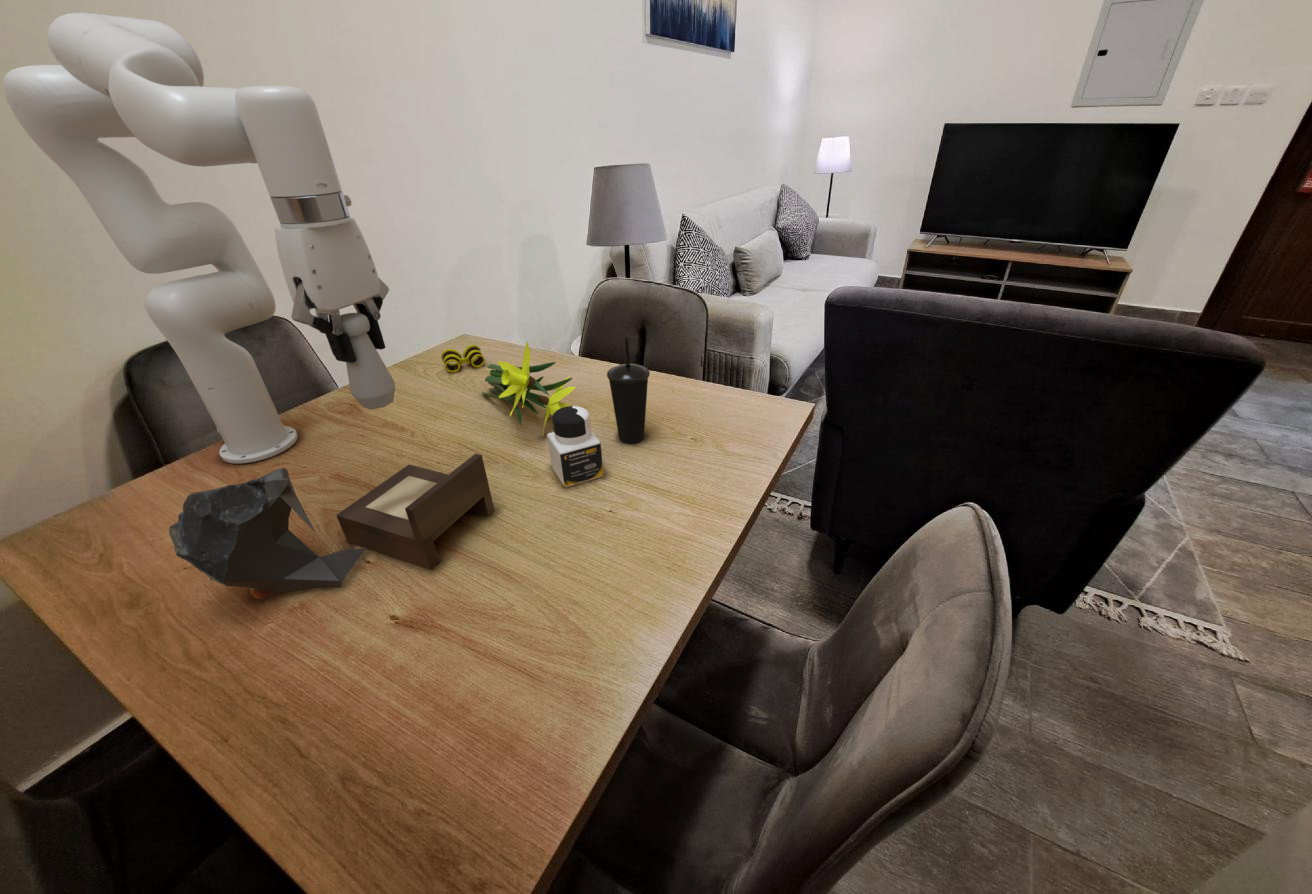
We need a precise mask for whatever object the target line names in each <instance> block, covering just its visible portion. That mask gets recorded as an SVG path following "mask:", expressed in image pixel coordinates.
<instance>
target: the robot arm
mask: <svg viewBox="0 0 1312 894" xmlns="http://www.w3.org/2000/svg"><path fill="white" fill-rule="evenodd" d="M46 35H47V37H46V38H47V43H48V46H49V49H50V51H51V53H52V55H53V57H54V58H55V60H56V61H57V62H58V64H31V65H23V66H19V67H16V68H14V69H11V70H9V71H8V72H7V73H6V74H5V75H4V77H3V81H2V87H3V94H4V96H5V99H6V102H7V103H8V105H9V107H10V109H11V111H12V113H13V114H14V116H15V118H16V120H17V121H18V123H19V124H20V126H21V127H22V129H23V130H24V131H25V133H26V134H27V135H28V137H29V138H30V139H31V140H32V141H33V142H34V143H35V145H37V147H38V148H39V149H40V150H42V152H43V153H44V154H45V155H46V156H47V157H48V158H50V160H52V162H54V164H55V165H56V166H57V167H59V168H60V169H61V171H63V172H64V173H65V175H66V176H68V177H69V179H70V180H71V181H72V182H73V183H74V184H75V186H76V187H77V188H78V190H79V191H80V193H81V194H82V196H83V197H84V198H85V200H86V202H87V203H88V205H89V207H90V208H91V210H92V211H93V213H94V214H95V216H96V218H97V219H98V220H99V222H100V223H101V225H102V226H103V228H104V230H105V231H106V232H107V234H108V235H109V237H110V238H111V240H112V242H113V243H114V245H115V246H116V248H117V249H118V251H119V252H120V253H121V255H122V256H123V257H124V259H125V260H126V261H127V262H128V263H129V264H130V265H131V267H133V268H134V269H136V270H137V271H139V272H141V273H144V274H151V275H152V274H153V275H154V274H165V273H171V272H177V271H178V272H179V271H183V270H187V269H193V268H197V267H198V268H199V267H203V266H208V265H212V266H213V267H215V268H216V270H217V271H214V272H210V273H204V274H198V275H194V276H189V277H185V278H180V279H175V280H170V281H168V282H164V283H162V284H159V285H157V286H155V287H153V288H151V290H149V291H148V292H147V293H146V295H145V297H144V301H143V302H144V308H145V312H146V314H147V315H148V317H149V319H150V320H151V321H152V323H153V324H154V326H155V327H156V328H157V329H158V331H159V332H160V333H161V334H162V336H163V337H164V338H165V339H166V341H167V342H168V343H169V345H170V346H171V348H172V349H173V351H174V352H175V354H176V355H177V357H178V359H179V360H180V362H181V364H182V366H183V367H184V369H185V371H186V373H187V375H188V376H189V379H190V381H191V382H192V384H193V386H194V388H195V390H196V392H197V393H198V395H199V397H200V399H201V401H202V402H203V405H204V407H205V408H206V411H207V412H208V414H209V416H210V418H211V420H212V421H213V423H214V425H215V427H216V431H217V433H218V434H219V435H220V437H221V439H222V440H223V442H224V444H222V446H221V447H220V449H218V450H219V451H218V455H219V457H220V459H221V460H222V461H223V462H226V463H228V464H235V465H236V464H237V465H238V464H240V465H242V464H249V463H255V462H260V461H264V460H266V459H270V458H273V457H274V456H277V455H279V454H281V453H283V452H286V451H287V450H288V449H290V448H291V447H292V446H294V445H295V443H297V441H298V438H299V434H298V432H297V430H296V429H295V428H294V427H291V426H289V425H288V426H287V425H284V423H283V421H282V419H281V417H280V414H279V413H278V410H277V408H276V407H275V404H274V402H273V400H272V397H271V395H270V393H269V391H268V389H267V386H266V384H265V382H264V379H263V377H262V376H261V373H260V371H259V368H258V367H257V365H256V362H255V360H254V358H253V356H252V355H251V353H250V352H249V351H248V350H247V349H246V348H245V347H243V346H242V345H240V344H238V343H236V342H234V341H232V340H230V339H228V338H227V337H226V336H225V335H226V334H228V333H230V332H234V331H236V330H238V329H243V328H246V327H248V326H252V325H255V324H258V323H262V322H265V321H267V320H269V319H270V318H272V317H273V316H274V315H275V313H276V309H277V304H276V299H275V296H274V293H273V292H272V290H271V288H270V286H269V284H268V282H267V280H266V278H265V276H264V275H263V273H262V271H261V269H260V267H259V265H258V263H257V262H256V260H255V258H254V257H253V254H252V253H251V251H250V249H249V247H248V246H247V243H246V242H245V240H244V238H243V236H242V234H241V233H240V232H239V230H238V228H237V226H236V224H234V222H233V221H232V220H231V218H230V217H228V215H227V214H226V213H224V211H223V210H222V209H220V208H218V207H217V206H215V205H213V204H210V203H207V202H203V201H202V202H201V201H200V202H199V201H192V202H183V203H174V204H169V203H167V202H166V201H165V200H164V199H163V197H161V195H160V193H159V192H158V190H157V188H156V186H155V185H154V183H153V182H152V180H151V178H150V176H149V175H148V173H146V171H145V170H144V169H142V168H141V167H140V165H138V164H136V163H135V162H134V161H133V160H131V159H130V158H128V157H127V156H126V155H124V154H122V153H121V152H120V151H118V150H116V149H114V148H113V147H110V146H109V145H107V144H106V143H104V142H102V141H100V140H99V139H109V138H110V139H111V138H136V139H137V140H138V141H139V143H141V144H143V145H144V146H145V147H147V148H149V149H151V150H153V151H154V152H156V153H158V154H160V155H162V156H164V157H165V158H167V159H169V160H172V161H174V162H177V163H180V164H183V165H186V166H193V167H203V168H204V167H219V166H228V165H240V164H241V165H242V164H257V166H258V169H259V171H260V174H261V176H262V179H263V182H264V184H265V187H266V190H267V192H268V195H269V196H270V197H269V199H270V201H271V203H272V206H273V209H274V211H275V214H276V217H277V220H278V222H279V225H280V226H278V227H275V228H274V235H275V242H276V250H277V253H278V258H279V261H280V266H281V269H282V273H283V276H284V280H285V282H286V286H287V289H288V291H289V295H290V297H291V299H292V303H293V307H292V310H291V316H290V317H291V319H292V321H294V322H296V323H300V324H303V325H307V326H309V327H311V328H313V329H315V330H317V331H318V332H319V333H320V334H325V337H326V339H327V342H328V345H329V347H330V350H331V353H332V355H333V356H334V358H335V360H336V361H338V362H344V363H346V362H348V363H353V362H356V360H357V359H356V356H355V353H354V350H353V347H352V344H351V341H350V338H349V336H348V334H347V333H342V325H341V319H340V315H341V313H340V310H341V309H345V308H348V307H350V306H353V308H354V310H355V312H356V313H361V314H363V315H365V316H366V317H367V318H368V320H369V323H370V330H369V331H368V332H366V333H367V335H368V336H369V338H370V340H371V342H372V343H373V345H374V347H375V348H376V350H379V351H380V350H381V351H382V350H384V349H386V344H385V341H384V337H383V333H382V329H381V327H380V324H379V320H381V316H382V315H381V313H380V311H381V309H382V306H383V304H384V300H385V299H386V297H387V295H388V293H389V291H390V288H389V286H388V285H387V284H386V283H385V282H384V281H383V280H382V279H380V277H379V276H378V270H377V268H376V265H375V262H374V260H373V257H372V254H371V252H370V249H369V247H368V244H367V242H366V239H365V237H364V235H363V233H362V230H360V227H359V225H358V223H357V221H356V220H355V218H353V217H351V215H350V211H349V209H348V207H351V206H352V200H351V198H350V196H349V195H347V194H344V192H343V189H342V186H341V183H340V179H339V176H338V172H337V169H336V166H335V162H334V160H333V156H332V153H331V149H330V146H329V143H328V140H327V137H326V134H325V130H324V127H323V124H322V121H321V116H320V114H319V111H318V107H317V105H316V103H315V102H316V101H314V98H313V97H312V96H311V95H310V93H309V92H308V91H306V90H304V89H303V88H299V87H296V86H291V85H250V86H244V87H226V86H205V73H204V68H203V65H202V63H201V60H200V58H199V56H198V54H197V52H196V50H195V49H194V47H193V46H192V44H191V43H190V42H189V41H188V40H187V38H185V37H184V35H182V34H181V33H180V32H179V31H177V30H176V29H174V28H173V27H172V26H170V25H168V24H166V23H163V22H160V21H157V20H154V19H144V18H138V17H137V18H136V17H127V16H120V15H119V16H118V15H110V14H102V13H91V12H90V13H89V12H71V13H66V14H65V13H64V14H62V15H60V16H58V17H56V18H55V19H54V20H53V21H52V22H51V23H50V25H49V27H48V29H47V34H46ZM311 310H314V311H315V315H313V314H312V313H311Z"/></svg>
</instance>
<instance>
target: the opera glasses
mask: <svg viewBox="0 0 1312 894" xmlns="http://www.w3.org/2000/svg"><path fill="white" fill-rule="evenodd" d="M440 358H441V361H442V363H443V364H444V369H445V370H446V372H450V373H457V372H458V371H460V368H461V366H462V365H464V364H470V365H472V366H473V367H474V368H482V367H483V366H484V365H485V363H486V358H485V356H484V355H483V353H482V350H481V348H480V346H479V345H476V344H471V345H470V344H469V345H468V346H467V347H466V348H465V349H464V350H463V353H462V354H461V353H460V352H459V351H458V350H457V349H452V348H448V349H445V350H444V351H443V352H442V353H441V355H440ZM453 362H454V363H453Z"/></svg>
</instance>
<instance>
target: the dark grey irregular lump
mask: <svg viewBox="0 0 1312 894" xmlns="http://www.w3.org/2000/svg"><path fill="white" fill-rule="evenodd" d="M292 510H293V511H294V512H295V513H296V514H297V516H298V517H300V519H302V520H303V521H304V522H305V524H307V526H309V527H310V528H311V530H312V531H313V532H316V529H315V528H314V526H313V524H312V523H311V520H310V519H309V517H308V515H307V513H306V511H305V509H304V507H303V505H302V503H301V501H300V500H299V498H298V496H297V493H296V491H295V489H294V486H293V484H292V481H291V479H290V474H289V471H288V469H287V468H286V467H281V468H277V469H275V470H273V471H271V472H269V473H266V474H265V475H262V476H261V477H258V478H255V479H250V480H248V481H246V482H242V483H238V484H237V483H236V484H228V485H225V486H221V487H217V488H213V489H208V490H203V491H195V492H192V493H190V494H189V495H188V496H187V497H186V498H185V500H184V502H183V504H182V511H181V512H179V514H178V517H177V519H178V520H177V522H175V523H173V524H172V525H170V527H169V529H168V533H169V537H170V539H171V541H172V544H173V546H174V547H173V548H174V552H175V556H177V558H180V559H182V560H183V561H186V562H188V563H189V564H191V565H192V566H193V567H194V568H196V569H197V570H198V571H199V572H201V573H203V574H205V576H206V577H207V578H209V579H210V581H214V582H216V583H219V584H220V585H223V586H225V587H232V588H233V587H234V588H245V589H249V592H250V594H251V595H252V596H253V597H252V598H254V599H258V600H263V599H266V598H268V597H271V596H273V595H278V594H280V593H282V592H288V591H289V592H290V591H291V592H293V591H305V590H312V589H313V590H314V589H322V588H342V585H341V584H342V583H343V581H344V580H345V578H346V577H347V576H348V574H349V573H350V572H351V570H352V568H353V567H354V565H356V563H357V561H358V560H359V558H360V557H361V556H362V555H363V553H364V551H365V550H366V549H367V548H365V547H364V548H346V549H342V550H339V551H336V552H332V553H327V554H325V555H322V556H319V555H318V554H317V553H315V552H314V551H313V549H311V548H310V547H309V546H308V545H307V544H305V543H304V542H303V541H302V540H301V539H300V538H299V537H298V536H296V535H295V534H294V533H293V532H292V531H291V530H290V529H289V525H290V523H289V522H290V515H291V512H292Z"/></svg>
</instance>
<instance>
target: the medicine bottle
mask: <svg viewBox="0 0 1312 894" xmlns="http://www.w3.org/2000/svg"><path fill="white" fill-rule="evenodd" d="M551 420H552V429H553V431H552V432H547V434H546V438H547V445H548V451H549V458H550V465H551V468H552V470H553V472H554V473H555V474H556V476H557V478H558V480H559V481H560V483H561V484H562V485H563V487H564V488H568V487H569V488H570V487H572V486H576V485H579V484H582V483H585V482H589V481H591V480H592V481H593V480H594V479H595V480H596V479H599V478H602V477H604V466H603V455H602V453H603V452H602V443H601V441H600V440H599V438H598V437H597V436H596V435H595V434H594V432H593V430H592V428H591V417H590V412H589V411H588V410H587V409H586V408H584V407H582V406H579V405H571V406H567V407H563V408H560V409H558V410H557V411H555V413H554V414H553V415H551Z"/></svg>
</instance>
